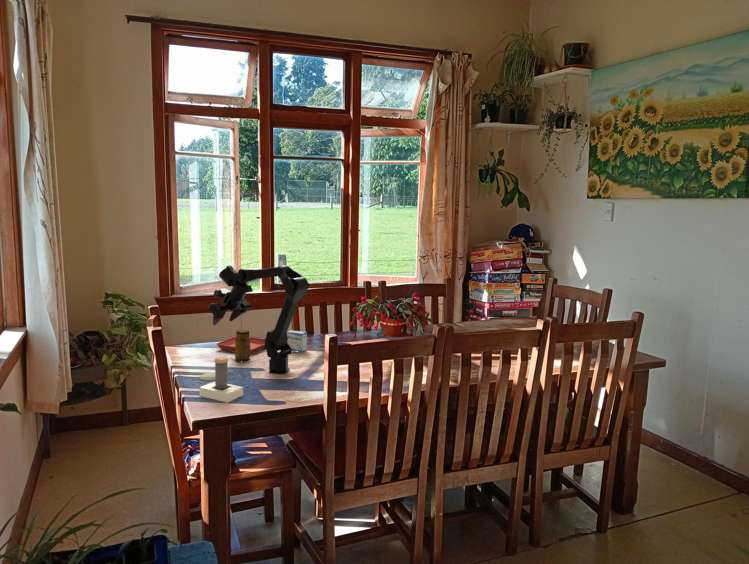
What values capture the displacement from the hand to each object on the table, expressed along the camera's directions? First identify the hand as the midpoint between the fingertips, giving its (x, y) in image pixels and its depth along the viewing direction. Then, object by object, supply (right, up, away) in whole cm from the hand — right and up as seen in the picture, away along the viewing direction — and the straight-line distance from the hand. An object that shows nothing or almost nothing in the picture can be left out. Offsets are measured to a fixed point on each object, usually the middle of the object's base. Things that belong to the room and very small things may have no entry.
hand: (222, 322), depth 244 cm
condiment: (+9, -16, 0) cm, 18 cm away
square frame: (+11, -22, -43) cm, 49 cm away
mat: (+2, -19, -24) cm, 30 cm away
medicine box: (+28, -14, +16) cm, 36 cm away
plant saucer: (+5, -13, +18) cm, 23 cm away
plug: (+11, -22, -43) cm, 49 cm away
